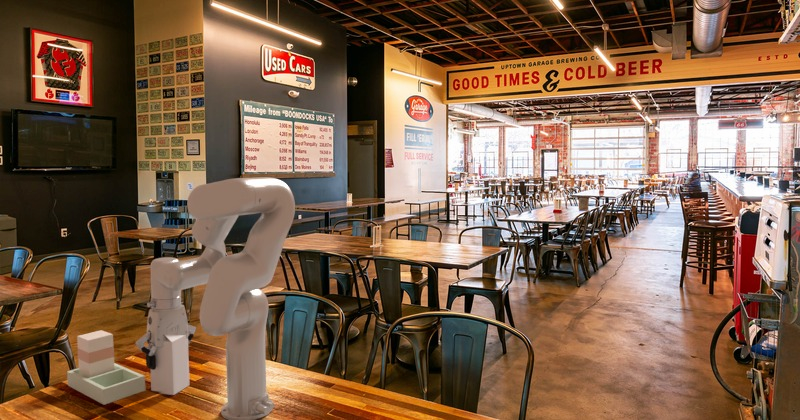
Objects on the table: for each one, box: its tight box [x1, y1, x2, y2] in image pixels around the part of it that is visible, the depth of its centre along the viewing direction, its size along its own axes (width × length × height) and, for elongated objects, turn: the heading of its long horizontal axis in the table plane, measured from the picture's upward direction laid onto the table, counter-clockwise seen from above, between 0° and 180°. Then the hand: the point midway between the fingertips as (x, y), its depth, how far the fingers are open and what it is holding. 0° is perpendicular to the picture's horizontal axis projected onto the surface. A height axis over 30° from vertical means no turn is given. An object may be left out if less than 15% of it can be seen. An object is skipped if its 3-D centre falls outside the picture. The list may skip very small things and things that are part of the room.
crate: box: [66, 362, 146, 406], centre depth 148 cm, size 21×11×5 cm, turn 54°
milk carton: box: [149, 334, 190, 396], centre depth 149 cm, size 7×7×19 cm
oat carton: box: [76, 329, 115, 379], centre depth 151 cm, size 7×7×14 cm
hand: (167, 363), depth 149 cm, fingers closed on milk carton, 9 cm apart
